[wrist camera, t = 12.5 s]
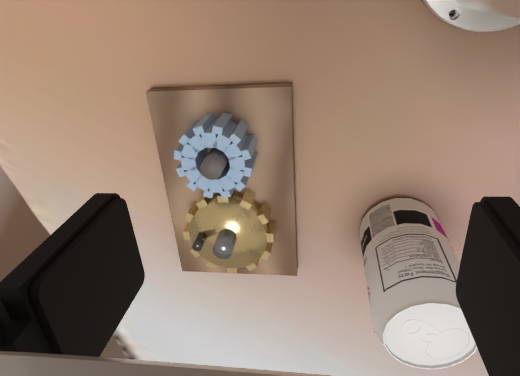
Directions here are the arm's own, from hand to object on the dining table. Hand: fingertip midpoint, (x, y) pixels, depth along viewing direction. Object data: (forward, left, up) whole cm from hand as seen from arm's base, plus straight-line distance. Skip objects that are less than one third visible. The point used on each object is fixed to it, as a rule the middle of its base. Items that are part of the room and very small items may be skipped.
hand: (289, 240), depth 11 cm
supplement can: (-9, +18, -28) cm, 35 cm away
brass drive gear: (+9, +17, -27) cm, 33 cm away
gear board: (+9, +13, -28) cm, 32 cm away
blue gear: (+9, +8, -27) cm, 29 cm away
